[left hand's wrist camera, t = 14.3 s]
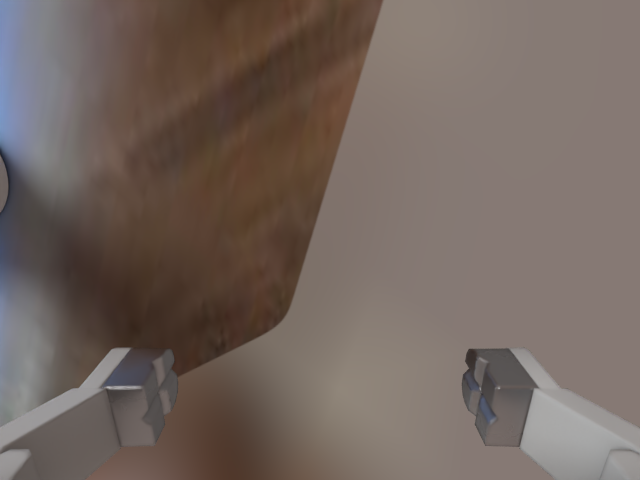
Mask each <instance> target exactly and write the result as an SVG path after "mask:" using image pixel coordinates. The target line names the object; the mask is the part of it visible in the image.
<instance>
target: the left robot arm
mask: <svg viewBox="0 0 640 480" xmlns="http://www.w3.org/2000/svg"><path fill="white" fill-rule="evenodd" d="M7 196H8V176H7V171H6V167H5V164H4V162H3V159H2V157H1V155H0V213H1V211H2V210H3V208H4V206H5V203H6V200H7ZM174 362H175V360H174V355H173V351H172V350H171V349H170V348H114V349H112V350H111V351H110V352H109V353H108V354H107V355H106V357H105V358H104V359H103V360H102V361H101V362H100V364H99V365H98V366H97V367H96V368H95V370H94V371H93V372H92V373H91V374H90V376H89V377H88V378H87V379H86V380H85V382H84V383H83V384H82V385H81V386H80V387H79V388H73V389H71V390H69V391H67V392H65V393H63V394H61V395H60V396H58V397H56V398H54V399H52V400H50V401H48V402H46V403H45V404H43V405H41V406H39V407H37V408H35V409H33V410H31V411H30V412H28V413H26V414H24V415H22V416H20V417H18V418H17V419H15V420H13V421H11V422H9V423H7V424H5V425H3V426H2V427H0V480H85V479H86V478H88V477H89V476H90V475H91V474H92V473H93V472H94V471H96V470H97V469H98V468H99V467H100V466H101V465H102V464H104V463H105V462H106V461H107V460H108V459H109V458H110V457H112V456H113V455H114V454H115V453H116V452H117V451H118V450H120V447H128V446H155V444H156V442H157V440H158V438H159V436H160V434H161V432H162V430H163V428H164V425H165V421H164V416H165V415H166V414H168V413H169V412H170V411H172V409H173V406H174V404H175V402H176V397H177V393H178V379H177V374H176V373H175V372H174V371H173V370H172V369H171V367H172V365H173V364H174ZM465 362H466V364H467V365H468V367H469V369H468V370H467V371H466V372H465V373H464V374H463V379H462V392H463V398H464V401H465V404H466V406H467V409H468V411H470V412H471V413H472V414H474V415H475V416H476V421H475V425H476V428H477V430H478V432H479V434H480V436H481V438H482V440H483V442H484V444H485V446H512V447H520V449H521V450H522V451H523V452H524V453H525V454H526V455H527V456H529V457H530V458H531V459H532V460H533V461H534V462H536V463H537V464H538V465H539V466H540V467H541V468H542V469H544V470H545V471H546V472H547V473H548V474H549V475H550V476H551V477H553V478H554V479H555V480H640V427H638V426H636V425H634V424H633V423H631V422H629V421H627V420H625V419H623V418H621V417H620V416H618V415H616V414H614V413H612V412H610V411H608V410H606V409H605V408H603V407H601V406H599V405H597V404H595V403H593V402H592V401H590V400H588V399H586V398H584V397H582V396H580V395H579V394H577V393H575V392H573V391H571V390H569V389H567V388H560V386H559V385H558V384H557V383H556V382H555V380H554V379H553V378H552V377H551V376H550V374H549V373H548V372H547V371H546V370H545V368H544V367H543V366H542V365H541V364H540V363H539V361H538V360H537V359H536V358H535V357H534V355H533V354H532V353H531V352H530V351H529V350H528V349H526V348H524V347H522V348H505V349H469V350H468V352H467V354H466V360H465Z"/></svg>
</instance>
